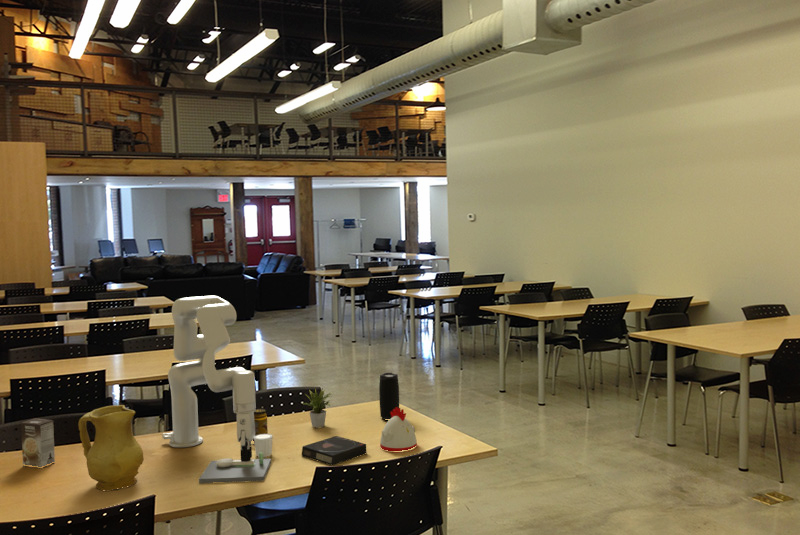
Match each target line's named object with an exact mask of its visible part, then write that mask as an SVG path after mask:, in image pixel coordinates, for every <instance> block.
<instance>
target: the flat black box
mask: <svg viewBox="0 0 800 535" xmlns="http://www.w3.org/2000/svg"><path fill="white" fill-rule="evenodd" d="M365 453H366V454H367V443H364V442H360V441H357V440H353V439H349V438H346V437H341V436H340V435H339V436H338V435H335V436H331V437H328V438H326V439H321V440H319V441H315V442H312V443H309V444H306V445H302V449H301V456H302V457H304V458H307V457H308V459H310V458H311V460H313V459H314V461H316V460H318V461H317V462H319V461H320V463H322V462H323V463H324V464H325V465H329V466H332V465H333V466H336V465H337V464H338V463H339V464H341V463H343V462H346V460H347V461H349V459H350V460H352V458H353V459H355V457H356V458H358V457H361V456H364V455H366V454H365ZM363 454H364V455H363ZM360 455H361V456H360ZM357 456H358V457H357ZM323 463H322V464H323Z"/></svg>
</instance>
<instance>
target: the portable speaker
mask: <svg viewBox="0 0 800 535" xmlns="http://www.w3.org/2000/svg"><path fill="white" fill-rule="evenodd" d="M398 377H399V376H398V374H397V373H392V372H383V373H382V374H380V375H379V387H378V388H379V390H378V391H379V393H378V394H379V396H378V397H379V399H378V400H379V411H380V412H379V414H380V418H381V417H382V418H383V420H384V419H391V418H392V417H391V413H390V412H393V409H395V407H398V408H400V386H399V385H400V383H399V378H398Z"/></svg>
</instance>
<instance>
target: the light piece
mask: <svg viewBox="0 0 800 535" xmlns="http://www.w3.org/2000/svg"><path fill="white" fill-rule="evenodd" d="M249 449H250V445H249ZM216 461H217V460H216ZM216 463H217V467H229V466H232V465H254V460H250V461H241V459H233V458H229V457H228V458H221V459H218V461H217V462H216Z"/></svg>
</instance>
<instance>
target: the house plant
mask: <svg viewBox="0 0 800 535" xmlns="http://www.w3.org/2000/svg"><path fill="white" fill-rule="evenodd" d="M314 390H315V391H314V392H315V393H314V392H313V391H311V389H309V394H310V395H308V394H306V393H304V395H305V396H306V397H307V398H308V400H309V401H310V402H309V403H308V402H304V403H302V405H307V406H310V407H311V408H312V410H310V411H309V417H310V421H311V422H310V423H311V427H312V428H313V427H316V428H317V429H320V428H319V427H321V428H324V427H325V426H326V425H325V423H326V416H327V410H325V409H324V408H325V407H326V406H329V407H331V404H330V401H331V399H330V400H327V398H329V397H331V396H332V394H333V392H335V391H336V390H335V391H331V392H328V393H327V394H325V391H326V389H323V387H322V388H321V390H320V392H319V393H318V392H317V389H316V388H314ZM326 400H327V401H326ZM323 426H324V427H323ZM316 428H315V429H316Z"/></svg>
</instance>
